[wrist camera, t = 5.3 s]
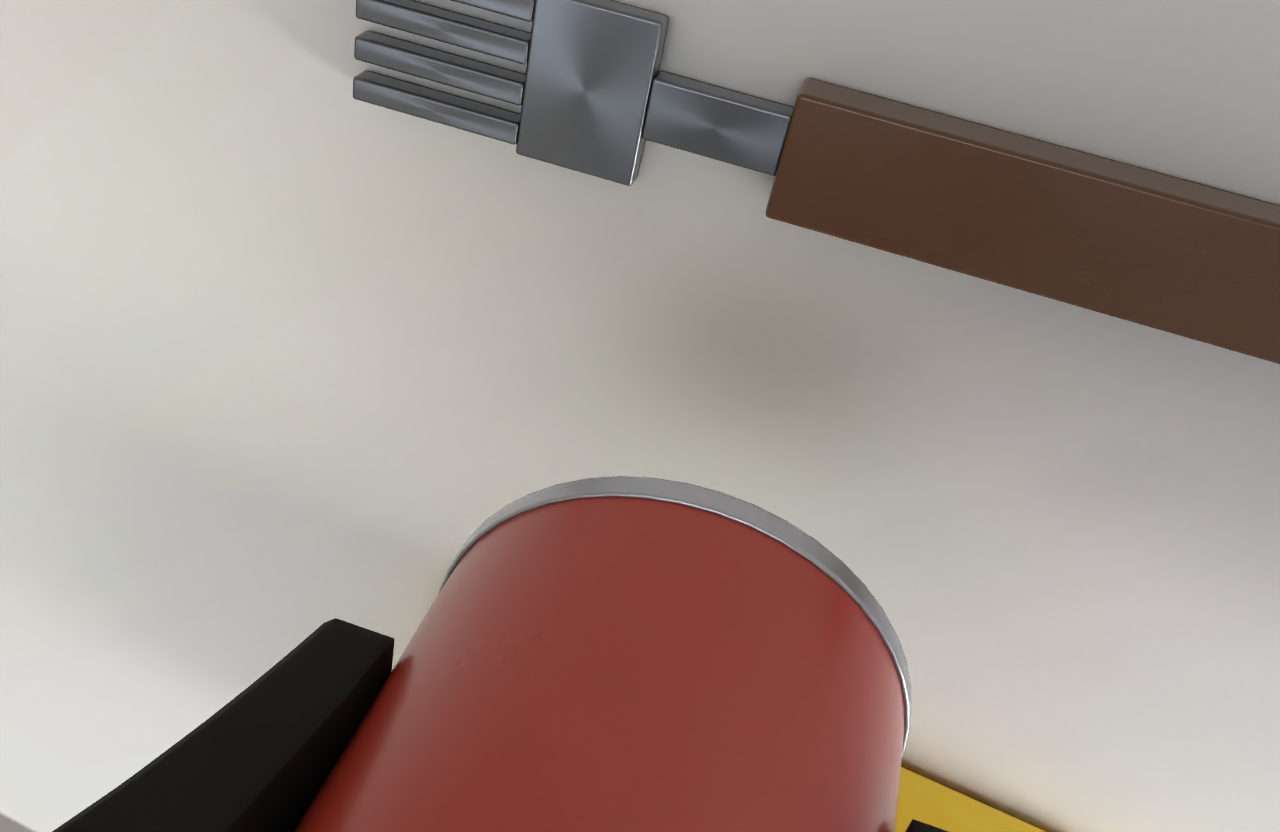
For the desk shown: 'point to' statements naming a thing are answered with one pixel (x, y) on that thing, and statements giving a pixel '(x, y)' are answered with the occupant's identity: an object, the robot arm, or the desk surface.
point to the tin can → (634, 679)
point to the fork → (853, 166)
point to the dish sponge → (949, 809)
